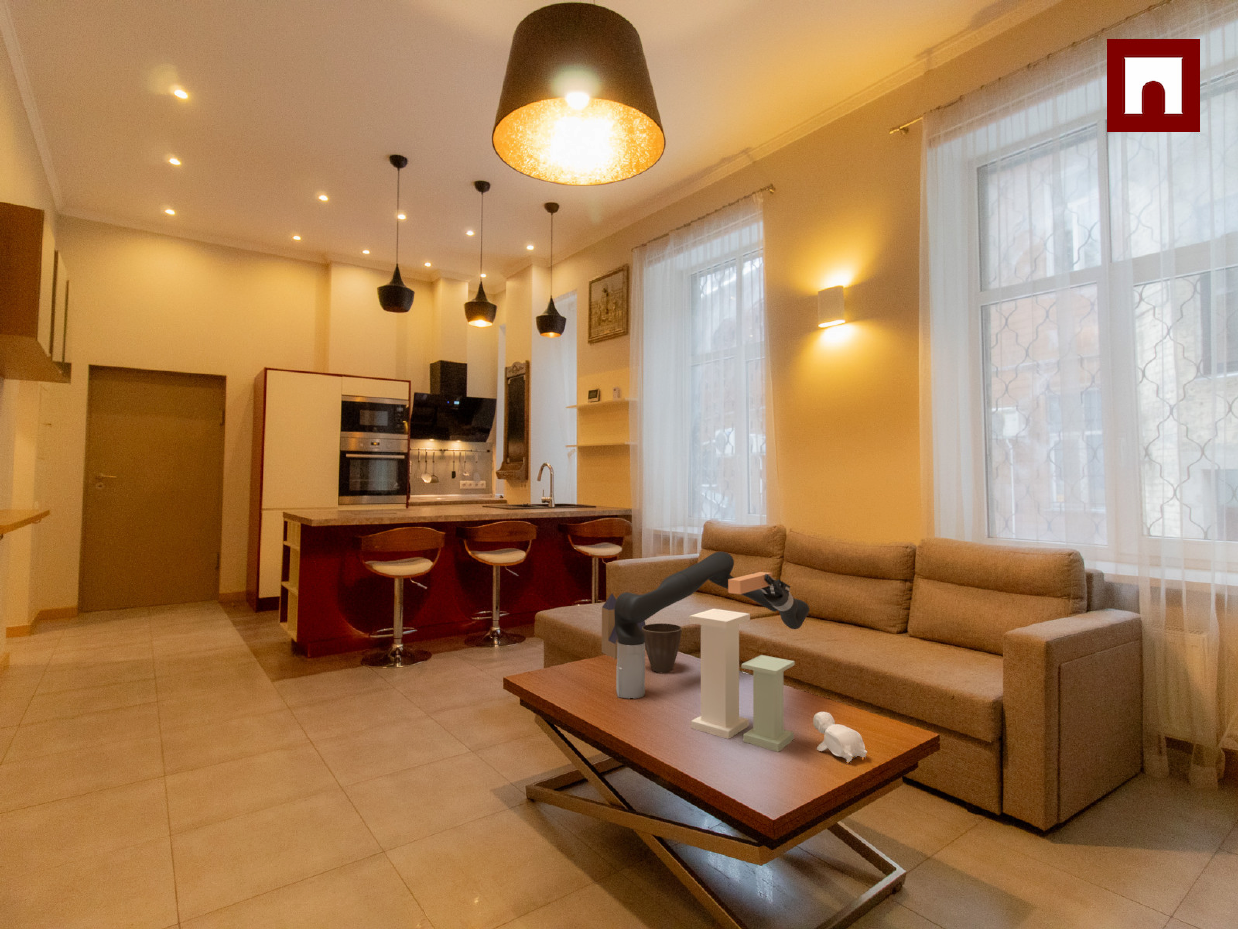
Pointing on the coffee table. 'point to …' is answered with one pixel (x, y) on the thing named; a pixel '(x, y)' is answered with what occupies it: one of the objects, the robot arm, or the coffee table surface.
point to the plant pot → (662, 645)
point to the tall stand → (720, 672)
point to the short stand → (768, 703)
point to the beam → (748, 583)
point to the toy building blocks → (610, 628)
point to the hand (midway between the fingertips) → (759, 576)
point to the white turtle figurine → (838, 737)
